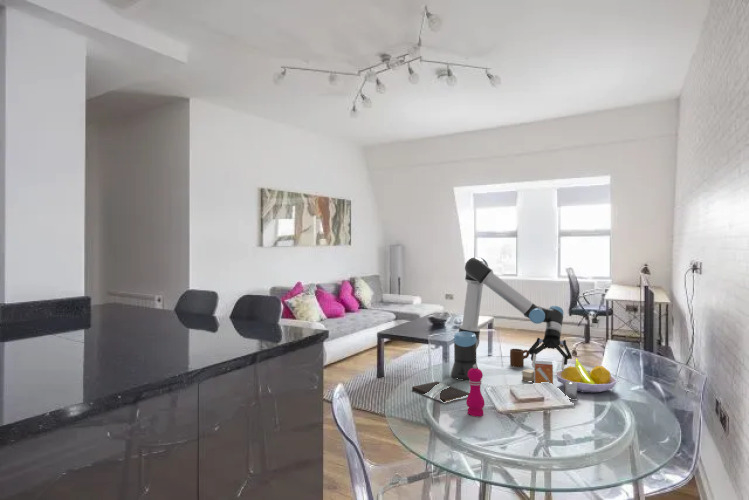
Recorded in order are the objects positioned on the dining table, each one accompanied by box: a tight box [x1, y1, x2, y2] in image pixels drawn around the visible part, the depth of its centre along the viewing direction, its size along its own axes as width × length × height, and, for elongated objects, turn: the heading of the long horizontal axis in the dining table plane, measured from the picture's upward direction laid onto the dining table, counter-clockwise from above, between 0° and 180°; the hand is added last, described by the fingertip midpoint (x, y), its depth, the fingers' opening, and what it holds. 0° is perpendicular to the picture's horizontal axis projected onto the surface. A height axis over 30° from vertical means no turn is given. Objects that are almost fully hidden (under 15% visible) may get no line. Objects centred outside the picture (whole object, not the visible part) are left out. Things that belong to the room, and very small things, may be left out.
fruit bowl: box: [554, 358, 618, 393], centre depth 204 cm, size 28×27×11 cm
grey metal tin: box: [564, 381, 578, 400], centre depth 188 cm, size 5×5×7 cm
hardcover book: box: [411, 381, 470, 402], centre depth 196 cm, size 16×23×2 cm
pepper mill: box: [465, 364, 485, 417], centre depth 170 cm, size 7×7×20 cm
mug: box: [509, 348, 530, 368], centre depth 248 cm, size 12×8×9 cm, turn 103°
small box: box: [533, 360, 554, 385], centre depth 202 cm, size 8×6×13 cm
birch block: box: [521, 368, 534, 382], centre depth 217 cm, size 5×5×5 cm
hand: (547, 368), depth 204 cm, fingers open, 13 cm apart
